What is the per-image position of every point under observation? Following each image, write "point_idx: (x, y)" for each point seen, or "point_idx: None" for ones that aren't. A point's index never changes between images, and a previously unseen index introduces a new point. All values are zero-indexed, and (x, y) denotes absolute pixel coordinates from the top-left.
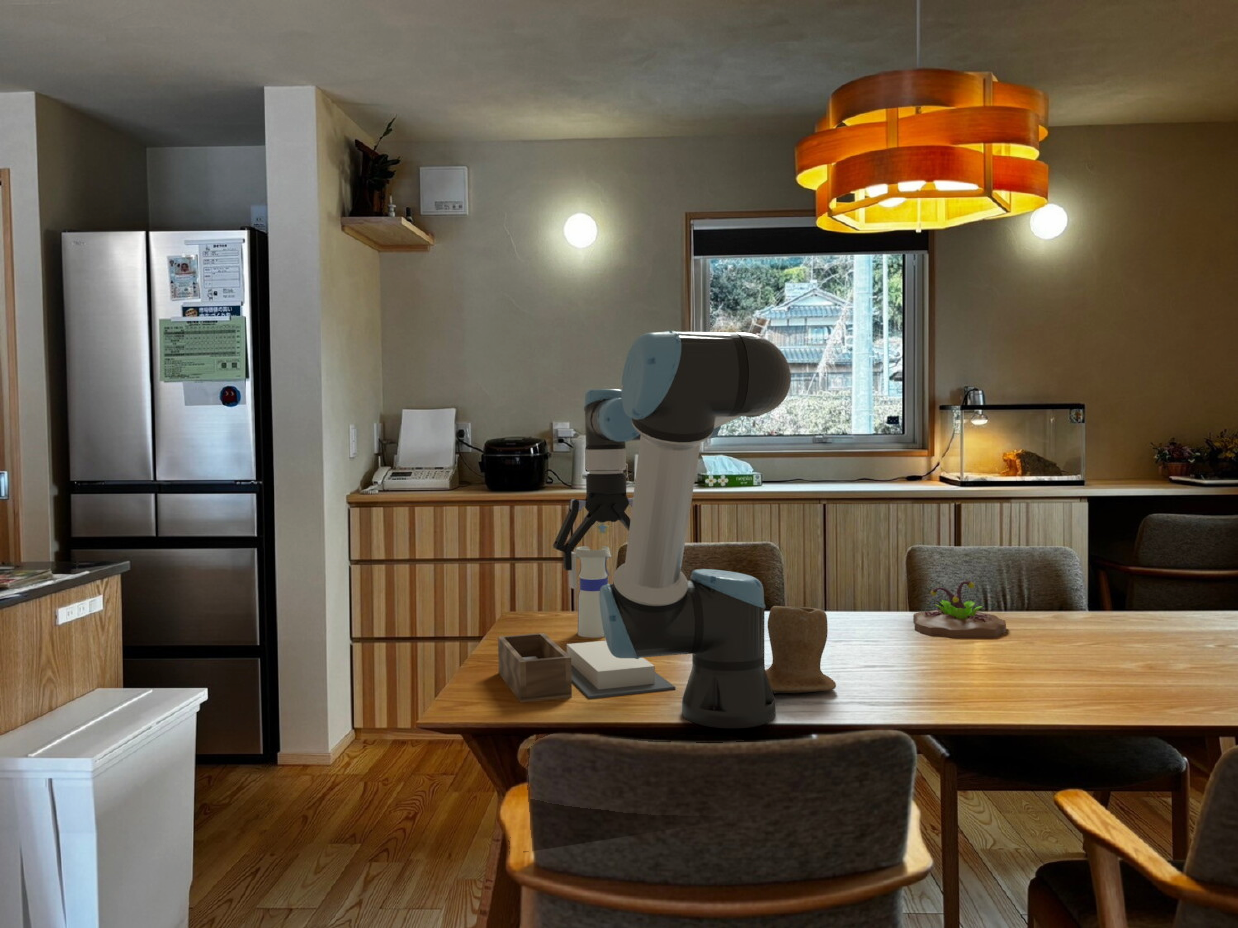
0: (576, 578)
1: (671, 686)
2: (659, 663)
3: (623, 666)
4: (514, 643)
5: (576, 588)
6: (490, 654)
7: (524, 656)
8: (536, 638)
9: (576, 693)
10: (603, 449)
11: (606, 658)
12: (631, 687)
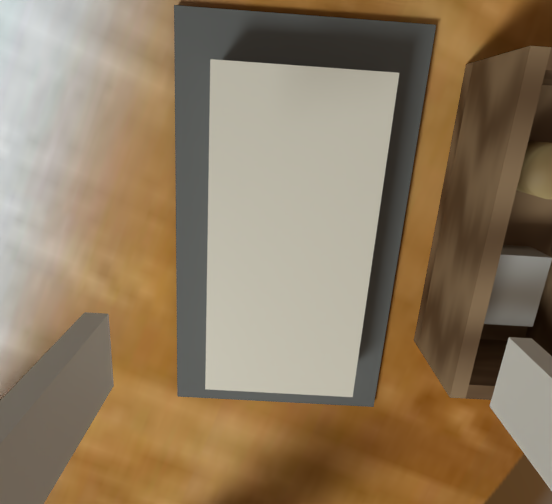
0: (545, 371)
1: (183, 14)
2: (129, 273)
3: (304, 97)
4: None
5: (510, 338)
6: (472, 490)
7: (487, 352)
8: (474, 378)
9: (438, 96)
10: None
11: (314, 210)
12: (293, 57)
